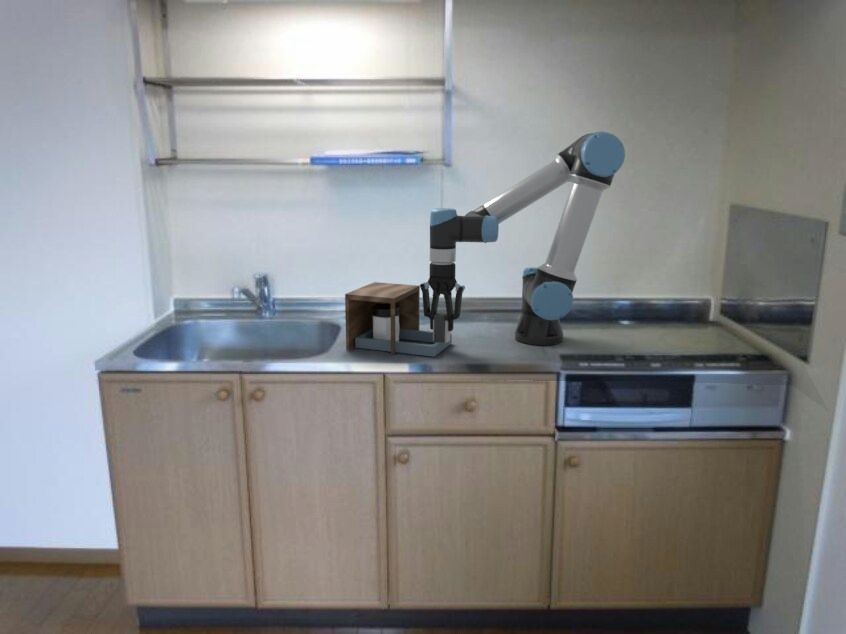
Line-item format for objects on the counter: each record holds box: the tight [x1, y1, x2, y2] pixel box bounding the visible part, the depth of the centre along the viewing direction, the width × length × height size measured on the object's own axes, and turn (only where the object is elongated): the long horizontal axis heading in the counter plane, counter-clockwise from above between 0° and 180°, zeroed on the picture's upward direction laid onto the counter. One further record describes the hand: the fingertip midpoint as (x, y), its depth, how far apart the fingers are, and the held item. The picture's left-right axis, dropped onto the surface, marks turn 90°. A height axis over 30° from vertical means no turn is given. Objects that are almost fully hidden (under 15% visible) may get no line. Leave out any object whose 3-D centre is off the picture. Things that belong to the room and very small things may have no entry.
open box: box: [344, 281, 421, 356], centre depth 205 cm, size 16×20×17 cm
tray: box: [354, 310, 453, 358], centre depth 203 cm, size 26×15×11 cm, turn 69°
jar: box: [373, 303, 400, 342], centre depth 205 cm, size 9×8×12 cm
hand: (441, 340), depth 199 cm, fingers closed on tray, 3 cm apart
